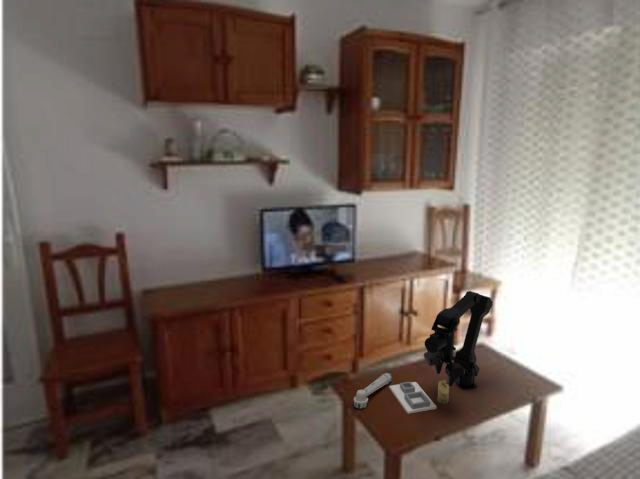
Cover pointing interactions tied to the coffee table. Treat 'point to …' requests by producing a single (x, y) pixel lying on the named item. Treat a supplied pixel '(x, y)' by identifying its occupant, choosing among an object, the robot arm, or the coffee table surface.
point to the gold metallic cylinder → (443, 392)
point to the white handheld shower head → (370, 390)
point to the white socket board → (412, 397)
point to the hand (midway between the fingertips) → (444, 379)
